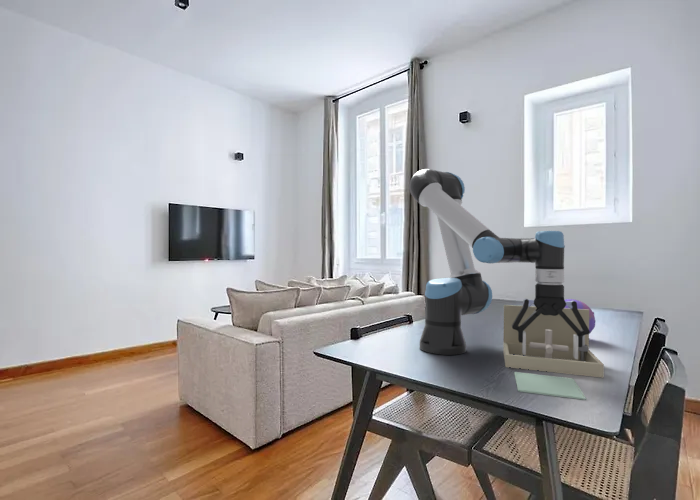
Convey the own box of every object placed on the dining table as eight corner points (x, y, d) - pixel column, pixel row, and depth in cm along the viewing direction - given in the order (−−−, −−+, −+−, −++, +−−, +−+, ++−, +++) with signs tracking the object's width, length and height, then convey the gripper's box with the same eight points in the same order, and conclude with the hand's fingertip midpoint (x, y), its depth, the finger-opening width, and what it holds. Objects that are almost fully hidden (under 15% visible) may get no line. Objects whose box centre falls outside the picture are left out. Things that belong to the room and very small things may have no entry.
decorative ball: (604, 344, 137) (604, 302, 137) (561, 343, 137) (562, 301, 137) (579, 334, 152) (580, 296, 152) (541, 334, 152) (542, 296, 152)
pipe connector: (566, 361, 115) (566, 328, 115) (569, 371, 106) (570, 335, 106) (529, 357, 119) (529, 325, 119) (529, 366, 110) (530, 331, 110)
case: (505, 367, 109) (506, 312, 109) (503, 352, 125) (503, 304, 125) (603, 377, 101) (604, 319, 101) (587, 360, 117) (588, 309, 117)
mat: (518, 391, 91) (518, 389, 91) (514, 373, 104) (514, 371, 104) (586, 400, 86) (586, 398, 86) (573, 379, 99) (573, 378, 99)
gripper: (504, 283, 113) (504, 354, 113) (602, 286, 105) (602, 363, 105) (503, 281, 120) (503, 348, 120) (595, 283, 112) (595, 356, 112)
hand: (549, 355), depth 112 cm, fingers open, 13 cm apart
